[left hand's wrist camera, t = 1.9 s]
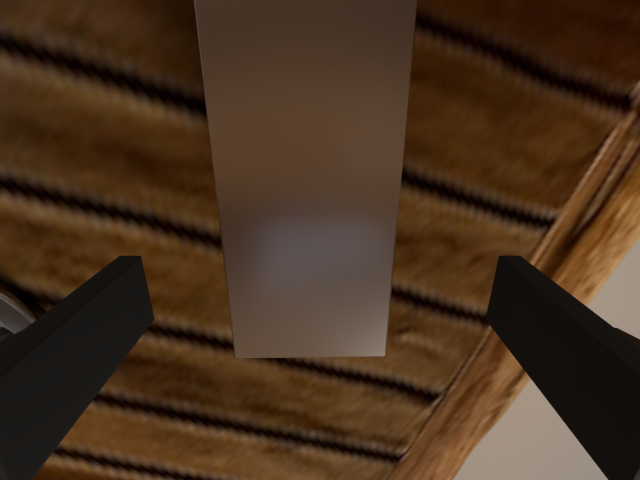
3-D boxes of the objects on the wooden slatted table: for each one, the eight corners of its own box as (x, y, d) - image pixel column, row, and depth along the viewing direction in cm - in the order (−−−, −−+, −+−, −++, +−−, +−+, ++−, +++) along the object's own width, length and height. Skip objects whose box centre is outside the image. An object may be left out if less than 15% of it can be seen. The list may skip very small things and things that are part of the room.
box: (354, 246, 25) (385, 357, 14) (269, 246, 25) (234, 359, 14) (370, -148, 17) (471, -592, 6) (245, -150, 17) (122, -603, 6)
